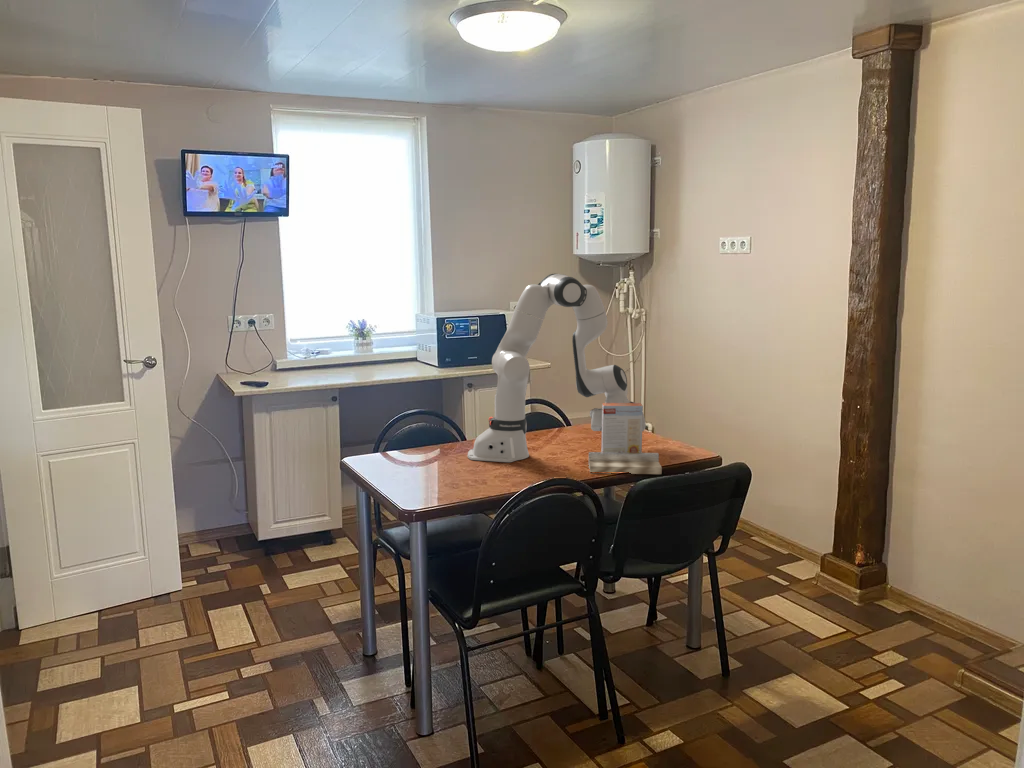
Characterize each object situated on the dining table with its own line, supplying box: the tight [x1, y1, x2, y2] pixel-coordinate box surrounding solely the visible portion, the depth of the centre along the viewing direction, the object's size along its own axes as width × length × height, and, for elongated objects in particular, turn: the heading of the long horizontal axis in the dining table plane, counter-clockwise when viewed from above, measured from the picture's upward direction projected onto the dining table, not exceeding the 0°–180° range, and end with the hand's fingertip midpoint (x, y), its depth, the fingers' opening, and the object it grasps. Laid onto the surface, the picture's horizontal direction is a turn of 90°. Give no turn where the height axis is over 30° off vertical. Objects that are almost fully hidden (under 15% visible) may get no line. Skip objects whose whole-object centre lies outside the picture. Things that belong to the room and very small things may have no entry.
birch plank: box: [588, 460, 663, 475], centre depth 265 cm, size 24×7×2 cm, turn 88°
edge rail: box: [588, 451, 660, 463], centre depth 270 cm, size 24×2×5 cm, turn 88°
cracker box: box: [600, 402, 644, 453], centre depth 276 cm, size 14×6×21 cm, turn 89°
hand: (618, 439), depth 286 cm, fingers closed
